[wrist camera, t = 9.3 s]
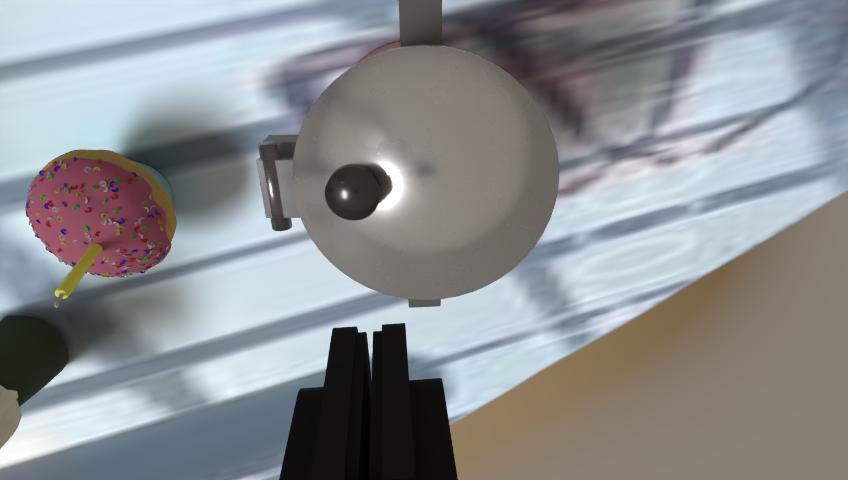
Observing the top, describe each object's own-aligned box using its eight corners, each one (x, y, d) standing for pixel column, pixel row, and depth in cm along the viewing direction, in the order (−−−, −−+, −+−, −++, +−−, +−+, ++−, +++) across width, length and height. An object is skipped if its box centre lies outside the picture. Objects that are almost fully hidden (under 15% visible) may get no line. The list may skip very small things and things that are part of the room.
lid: (243, 46, 21) (228, 50, 20) (569, 42, 21) (581, 45, 20) (285, 291, 27) (276, 309, 26) (540, 288, 27) (548, 306, 25)
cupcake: (221, 213, 36) (149, 302, 25) (133, 262, 37) (29, 366, 27) (140, 111, 32) (15, 166, 22) (45, 170, 34) (-116, 248, 23)
